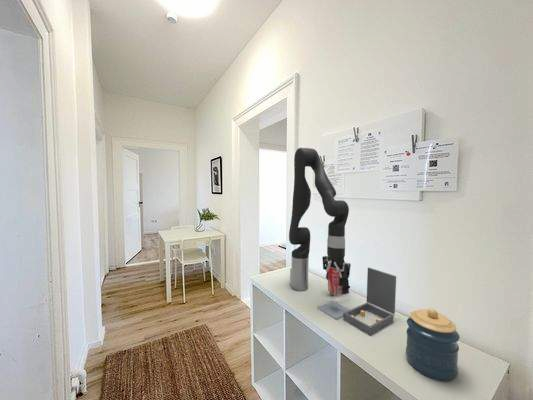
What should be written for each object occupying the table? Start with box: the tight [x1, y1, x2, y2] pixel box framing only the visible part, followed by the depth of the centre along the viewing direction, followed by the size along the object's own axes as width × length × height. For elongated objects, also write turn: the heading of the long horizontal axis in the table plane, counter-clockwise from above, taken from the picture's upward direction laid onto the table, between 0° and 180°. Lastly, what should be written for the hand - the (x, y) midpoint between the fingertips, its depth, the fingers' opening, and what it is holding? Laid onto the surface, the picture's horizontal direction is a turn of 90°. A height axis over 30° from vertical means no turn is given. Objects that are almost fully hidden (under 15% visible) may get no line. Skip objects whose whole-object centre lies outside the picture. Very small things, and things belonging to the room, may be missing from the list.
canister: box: [405, 308, 460, 382], centre depth 69 cm, size 13×13×18 cm
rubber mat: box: [316, 300, 351, 321], centre depth 100 cm, size 11×11×1 cm
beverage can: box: [327, 266, 343, 296], centre depth 99 cm, size 6×6×12 cm
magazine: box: [325, 265, 351, 297], centre depth 116 cm, size 4×13×15 cm, turn 114°
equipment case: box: [342, 267, 397, 337], centre depth 92 cm, size 12×17×19 cm
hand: (335, 282), depth 100 cm, fingers closed on beverage can, 6 cm apart
